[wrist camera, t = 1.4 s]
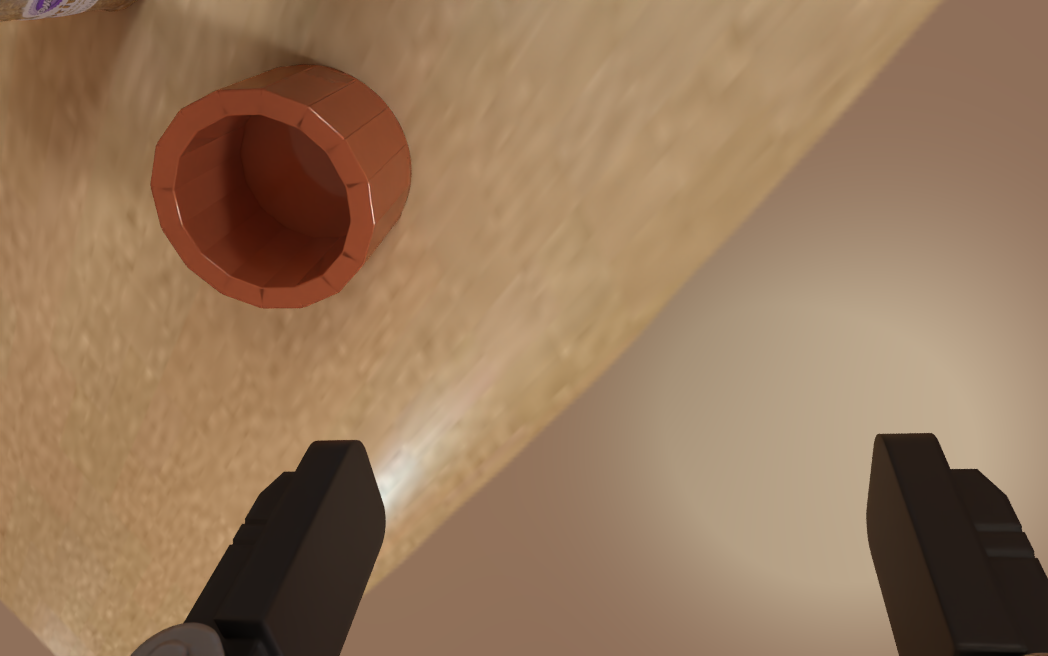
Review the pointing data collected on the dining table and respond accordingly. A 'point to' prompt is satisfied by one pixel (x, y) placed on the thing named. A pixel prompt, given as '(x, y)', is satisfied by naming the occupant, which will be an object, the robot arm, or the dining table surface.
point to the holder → (281, 184)
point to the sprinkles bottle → (55, 8)
